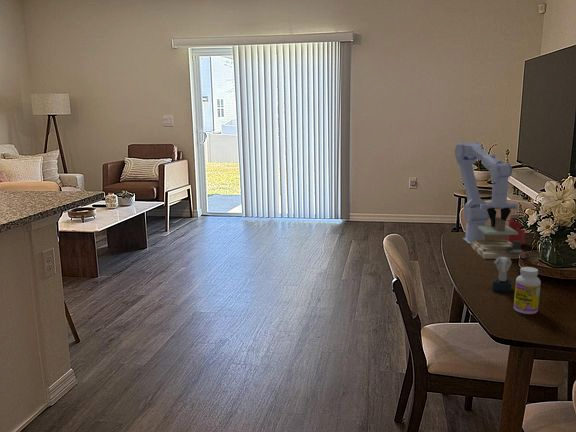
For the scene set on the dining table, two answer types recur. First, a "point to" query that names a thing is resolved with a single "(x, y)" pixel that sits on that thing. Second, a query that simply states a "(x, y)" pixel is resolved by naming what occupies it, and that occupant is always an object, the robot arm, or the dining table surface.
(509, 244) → the picture frame
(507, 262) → the white and black piece
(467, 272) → the dining table surface
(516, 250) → the latch bolt
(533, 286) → the supplement bottle
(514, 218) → the beer can
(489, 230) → the cover
